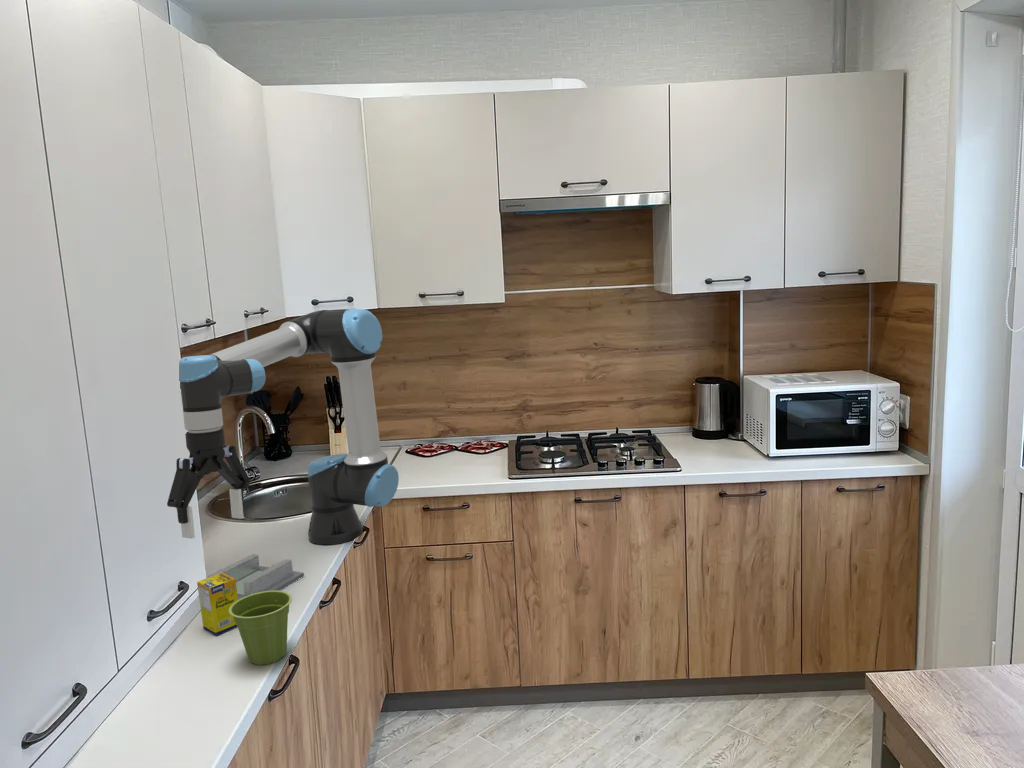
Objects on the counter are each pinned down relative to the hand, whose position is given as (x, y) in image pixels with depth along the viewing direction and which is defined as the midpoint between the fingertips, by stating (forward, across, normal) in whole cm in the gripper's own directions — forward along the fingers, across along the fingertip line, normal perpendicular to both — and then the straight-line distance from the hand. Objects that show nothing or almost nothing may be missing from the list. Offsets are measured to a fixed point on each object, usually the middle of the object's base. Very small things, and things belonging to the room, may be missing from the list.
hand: (214, 527), depth 158 cm
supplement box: (+22, 0, 0) cm, 23 cm away
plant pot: (+23, +7, +18) cm, 30 cm away
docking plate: (+22, -18, -8) cm, 29 cm away
